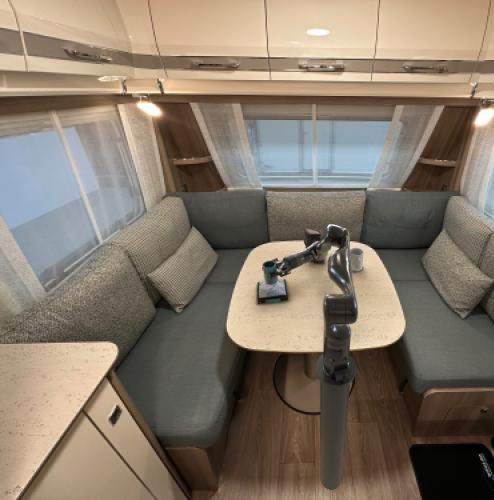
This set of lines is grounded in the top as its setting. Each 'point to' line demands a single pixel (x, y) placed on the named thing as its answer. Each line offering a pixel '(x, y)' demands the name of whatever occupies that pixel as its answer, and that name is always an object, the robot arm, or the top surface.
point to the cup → (267, 269)
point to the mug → (356, 258)
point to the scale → (272, 292)
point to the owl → (309, 239)
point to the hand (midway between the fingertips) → (266, 272)
